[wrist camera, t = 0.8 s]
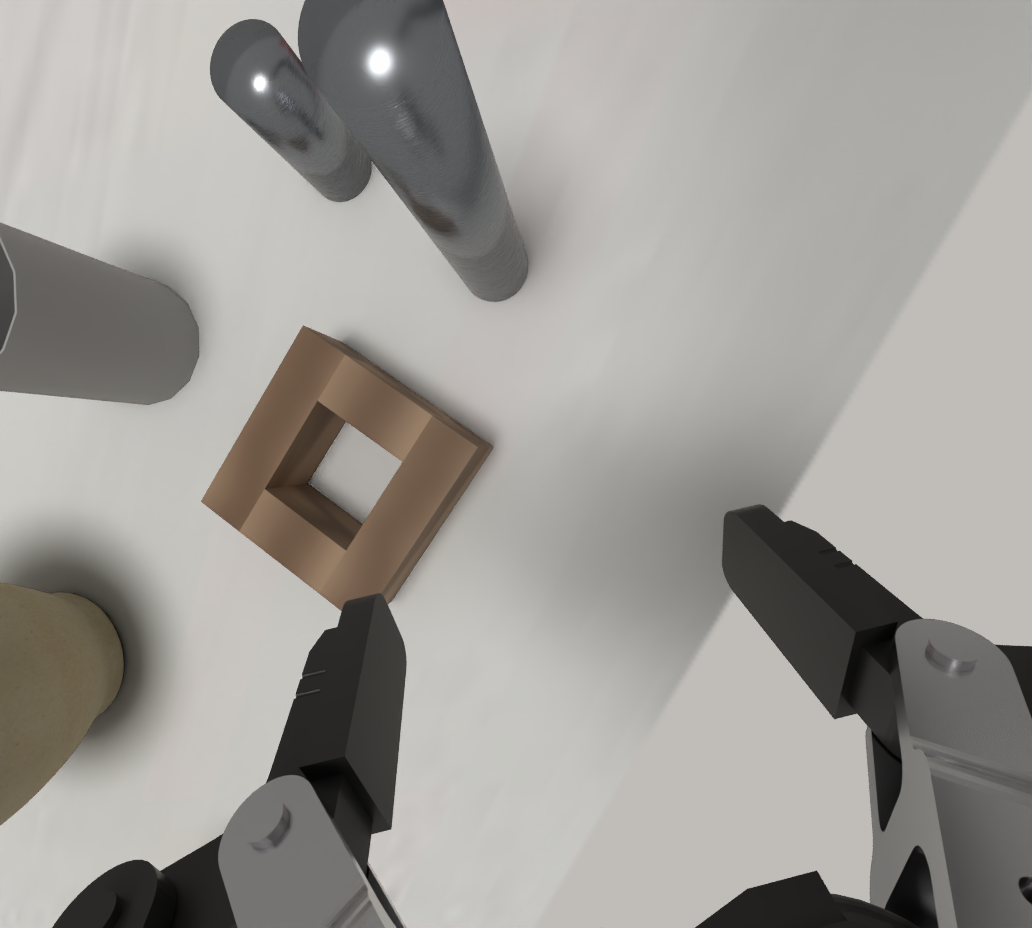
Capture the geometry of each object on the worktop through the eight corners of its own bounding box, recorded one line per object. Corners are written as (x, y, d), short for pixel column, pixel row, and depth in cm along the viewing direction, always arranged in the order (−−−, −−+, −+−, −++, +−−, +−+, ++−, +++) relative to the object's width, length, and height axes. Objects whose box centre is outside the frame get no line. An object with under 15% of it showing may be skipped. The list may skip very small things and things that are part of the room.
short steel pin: (304, 153, 29) (199, 44, 21) (359, 125, 29) (271, 3, 21) (324, 211, 29) (225, 124, 21) (379, 185, 28) (299, 85, 21)
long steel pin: (454, 249, 28) (278, -8, 12) (515, 223, 27) (413, -86, 11) (475, 311, 28) (325, 133, 12) (537, 286, 27) (464, 63, 11)
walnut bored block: (250, 494, 31) (200, 501, 27) (341, 342, 29) (303, 325, 25) (391, 601, 29) (360, 625, 25) (493, 447, 28) (477, 447, 24)
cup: (140, 428, 32) (-61, 420, 22) (75, 338, 32) (-148, 290, 23) (221, 349, 31) (48, 303, 21) (153, 257, 31) (-48, 169, 21)
